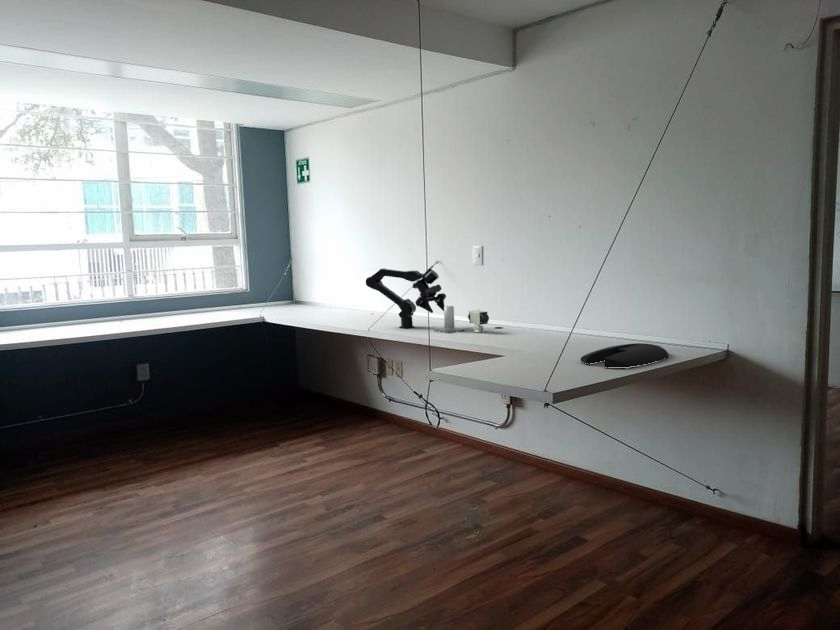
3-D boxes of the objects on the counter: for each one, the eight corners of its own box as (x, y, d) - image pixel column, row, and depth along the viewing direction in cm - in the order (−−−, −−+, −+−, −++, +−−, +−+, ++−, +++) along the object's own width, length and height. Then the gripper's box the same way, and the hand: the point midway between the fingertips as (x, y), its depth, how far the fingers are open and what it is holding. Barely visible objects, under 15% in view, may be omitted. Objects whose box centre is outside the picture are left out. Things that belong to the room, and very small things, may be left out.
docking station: (684, 356, 274) (684, 344, 273) (623, 372, 249) (623, 359, 248) (630, 349, 293) (630, 337, 293) (569, 363, 268) (569, 351, 268)
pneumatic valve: (482, 334, 346) (482, 310, 344) (468, 331, 355) (467, 308, 354) (490, 332, 349) (490, 309, 347) (476, 330, 358) (475, 307, 357)
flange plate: (433, 331, 361) (433, 329, 361) (450, 328, 369) (450, 326, 369) (447, 333, 352) (447, 331, 352) (465, 330, 359) (465, 328, 359)
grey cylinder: (441, 329, 360) (441, 306, 358) (448, 327, 364) (447, 305, 362) (450, 330, 356) (449, 307, 354) (457, 328, 360) (456, 306, 359)
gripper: (418, 281, 359) (433, 303, 353) (443, 278, 372) (458, 300, 366) (409, 294, 366) (423, 317, 360) (433, 291, 379) (448, 313, 373)
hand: (438, 311), depth 364 cm, fingers open, 9 cm apart
